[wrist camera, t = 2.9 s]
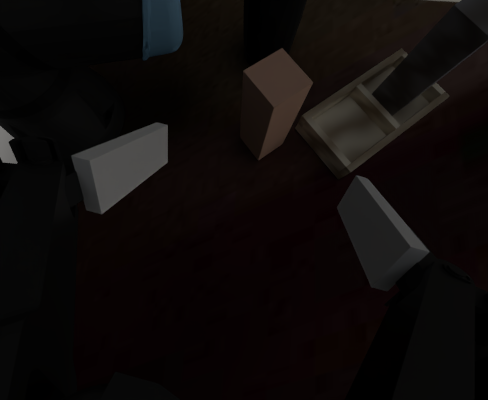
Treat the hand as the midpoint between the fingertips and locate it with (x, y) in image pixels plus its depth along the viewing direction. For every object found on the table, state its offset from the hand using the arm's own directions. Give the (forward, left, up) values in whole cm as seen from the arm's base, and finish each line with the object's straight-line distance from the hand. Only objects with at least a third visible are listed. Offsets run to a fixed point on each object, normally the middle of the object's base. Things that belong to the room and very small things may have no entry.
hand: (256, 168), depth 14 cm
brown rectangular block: (-7, +9, -17) cm, 20 cm away
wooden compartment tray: (0, +26, -17) cm, 31 cm away
